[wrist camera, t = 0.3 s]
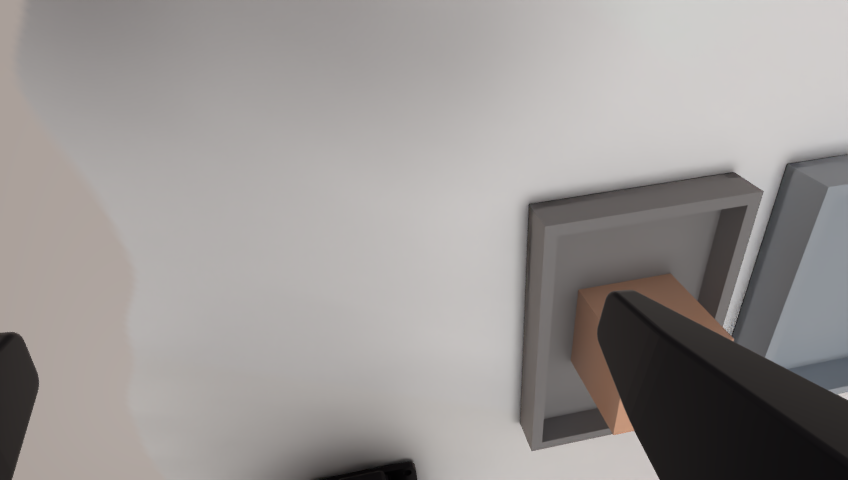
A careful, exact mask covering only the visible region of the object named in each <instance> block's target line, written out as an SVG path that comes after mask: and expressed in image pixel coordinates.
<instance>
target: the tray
mask: <svg viewBox="0 0 848 480" xmlns="http://www.w3.org/2000/svg"><path fill="white" fill-rule="evenodd" d="M732 337H733V338H734V342H736V343H738V344H739V345H741V346H743V347H745V348H747V349H749V350H751V351H753V352H755V353H757V354H759V355H761V356H763V357H765V358H767V359H769V360H771V361H773V362H774V363H776V364H778V365H780V366H782V367H784V368H786V369H788V370H790V371H792V372H794V373H796V374H798V375H800V376H802V377H804V378H806V379H808V380H809V381H811V382H813V383H815V384H817V385H819V386H821V387H823V388H825V389H827V390H829V391H831V392H833V393H835V394H840V393H845V392H848V155H842V156H836V157H830V158H823V159H817V160H810V161H804V162H798V163H791V164H787V167H786V170H785V173H784V176H783V179H782V183H781V186H780V189H779V192H778V195H777V198H776V201H775V204H774V208H773V211H772V214H771V217H770V220H769V223H768V226H767V229H766V233H765V236H764V239H763V242H762V245H761V248H760V251H759V254H758V258H757V261H756V264H755V267H754V270H753V273H752V276H751V279H750V282H749V286H748V289H747V292H746V295H745V298H744V301H743V304H742V307H741V311H740V314H739V317H738V320H737V323H736V326H735V329H734V332H733V336H732Z"/></svg>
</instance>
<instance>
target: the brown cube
mask: <svg viewBox="0 0 848 480" xmlns="http://www.w3.org/2000/svg"><path fill="white" fill-rule="evenodd" d="M620 290H634V291H637V292H639V293H640V294H642V295H644V296H646V297H648V298H650V299H652V300H654V301H656V302H658V303H660V304H662V305H664V306H666V307H668V308H670V309H672V310H673V311H675V312H677V313H679V314H681V315H683V316H685V317H687V318H689V319H691V320H693V321H695V322H697V323H699V324H701V325H703V326H705V327H706V328H708V329H710V330H712V331H714V332H716V333H718V334H720V335H722V336H724V337H726V338H728V339H730V340H732V341H734V338H733V337H732V336H731V335H730V334H729V333H728V332H727V331H726V330H725V329H724V328H723V327H722V326H721V325H720V324H719V323H718V322H717V321H716V320H715V319H714V318H713V317H712V316H711V315H710V314H709V313H708V312H707V311H706V309H705V308H704V307H703V306H702V305H701V304H700V303H699V302H698V301H697V300H696V299H695V298H694V297H693V296H692V295H691V294H690V293H689V292H688V291H687V290H686V289H685V288H684V287H683V286H682V285H681V284H680V283H679V282H678V280H677V279H676V278H675V277H674V276H673V275H672V274H671V273H670V274H664V275H659V276H653V277H647V278H642V279H636V280H630V281H625V282H619V283H613V284H608V285H602V286H596V287H591V288H585V289H579V290H578V298H577V307H576V317H575V326H574V335H573V345H572V354H571V362H572V364H573V366H574V367H575V369H576V371H577V373H578V374H579V376H580V378H581V380H582V381H583V383H584V385H585V387H586V388H587V390H588V392H589V394H590V395H591V397H592V399H593V401H594V402H595V404H596V406H597V408H598V409H599V411H600V413H601V415H602V416H603V418H604V420H605V422H606V423H607V425H608V427H609V429H610V430H611V432H612V434H613V435H616V434H621V433H626V432H631V431H634V429H633V427H632V425H631V423H630V421H629V418H628V416H627V414H626V411H625V409H624V407H623V404H622V402H621V399H620V396H619V394H618V391H617V389H616V386H615V384H614V381H613V379H612V376H611V373H610V371H609V368H608V366H607V363H606V361H605V358H604V355H603V353H602V350H601V348H600V345H599V342H598V338H597V328H598V324H599V320H600V317H601V313H602V310H603V306H604V303H605V299H606V297H607V295H608V294H609V293H610V292H612V291H620Z"/></svg>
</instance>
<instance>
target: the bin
mask: <svg viewBox="0 0 848 480" xmlns="http://www.w3.org/2000/svg"><path fill="white" fill-rule="evenodd" d="M763 192H764V191H762V190H761V189H759V188H758V187H756V186H755V185H753V184H751V183H750V182H748V181H747V180H745V179H744V178H742V177H741V176H739V175H738V174H736V173H727V174H721V175H714V176H708V177H701V178H695V179H689V180H682V181H676V182H669V183H663V184H657V185H650V186H644V187H637V188H631V189H625V190H618V191H612V192H605V193H599V194H592V195H586V196H580V197H573V198H567V199H560V200H554V201H548V202H541V203H535V204H529V218H528V243H527V267H526V292H525V316H524V341H523V366H522V390H521V415H520V424H521V426H522V429H523V431H524V434H525V436H526V439H527V441H528V444H529V446H530V448H531V451H535V450H539V449H544V448H549V447H554V446H558V445H563V444H568V443H572V442H577V441H582V440H587V439H591V438H596V437H601V436H606V435H610V434H612V432H611V430H610V429H609V427H608V425H607V423H606V422H605V420H604V418H603V416H602V415H601V413H600V411H599V409H598V408H597V406H596V404H595V402H594V401H593V399H592V397H591V395H590V394H589V392H588V390H587V388H586V387H585V385H584V383H583V381H582V380H581V378H580V376H579V374H578V373H577V371H576V369H575V367H574V366H573V364H572V362H571V354H572V345H573V335H574V326H575V317H576V307H577V298H578V290H579V289H585V288H591V287H596V286H602V285H608V284H613V283H619V282H625V281H630V280H636V279H642V278H647V277H653V276H659V275H664V274H670V273H671V274H672V275H673V276H674V277H675V278H676V279H677V280H678V282H679V283H680V284H681V285H682V286H683V287H684V288H685V289H686V290H687V291H688V292H689V293H690V294H691V295H692V296H693V297H694V298H695V299H696V300H697V301H698V302H699V303H700V304H701V305H702V306H703V307H704V308H705V309H706V311H707V312H708V313H709V314H710V315H711V316H712V317H713V318H714V319H715V320H716V321H717V322H718V323H719V324H720V325H721V326H722V327H723V324H724V320H725V317H726V314H727V310H728V307H729V304H730V300H731V297H732V294H733V291H734V287H735V284H736V281H737V277H738V274H739V271H740V267H741V264H742V261H743V258H744V254H745V251H746V248H747V244H748V241H749V238H750V235H751V231H752V228H753V225H754V221H755V218H756V215H757V211H758V208H759V205H760V202H761V198H762V195H763Z"/></svg>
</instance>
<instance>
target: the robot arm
mask: <svg viewBox="0 0 848 480" xmlns="http://www.w3.org/2000/svg"><path fill="white" fill-rule="evenodd" d="M597 338H598V342H599V345H600V348H601V350H602V353H603V355H604V358H605V361H606V363H607V366H608V368H609V371H610V373H611V376H612V379H613V381H614V384H615V386H616V389H617V391H618V394H619V396H620V399H621V402H622V404H623V407H624V409H625V411H626V414H627V416H628V418H629V421H630V423H631V425H632V427H633V429H634V431H635V433H636V435H637V437H638V439H639V441H640V443H641V444H642V446H643V448H644V450H645V452H646V454H647V456H648V458H649V460H650V462H651V464H652V466H653V468H654V470H655V472H656V473H657V475H658V477H659V479H660V480H848V400H846V399H844V398H843V397H841V396H839V395H837V394H835V393H833V392H831V391H829V390H827V389H825V388H823V387H821V386H819V385H817V384H815V383H813V382H811V381H809V380H808V379H806V378H804V377H802V376H800V375H798V374H796V373H794V372H792V371H790V370H788V369H786V368H784V367H782V366H780V365H778V364H776V363H774V362H773V361H771V360H769V359H767V358H765V357H763V356H761V355H759V354H757V353H755V352H753V351H751V350H749V349H747V348H745V347H743V346H741V345H739V344H738V343H736V342H734V341H732V340H730V339H728V338H726V337H724V336H722V335H720V334H718V333H716V332H714V331H712V330H710V329H708V328H706V327H705V326H703V325H701V324H699V323H697V322H695V321H693V320H691V319H689V318H687V317H685V316H683V315H681V314H679V313H677V312H675V311H673V310H672V309H670V308H668V307H666V306H664V305H662V304H660V303H658V302H656V301H654V300H652V299H650V298H648V297H646V296H644V295H642V294H640V293H639V292H637V291H634V290H620V291H612V292H610V293H609V294H608V295H607V297H606V299H605V303H604V306H603V310H602V313H601V317H600V320H599V324H598V328H597ZM38 387H39V378H38V374H37V371H36V368H35V366H34V363H33V361H32V359H31V356H30V354H29V351H28V349H27V347H26V344H25V342H24V340H23V338H22V337H21V336H20V335H19V334H17V333H15V332H5V333H0V480H12V477H13V474H14V471H15V467H16V464H17V461H18V457H19V454H20V450H21V447H22V444H23V440H24V437H25V433H26V430H27V426H28V423H29V420H30V416H31V413H32V410H33V406H34V403H35V399H36V396H37V393H38ZM321 480H417V475H416V468H415V464H414V463H413V462H403V463H398V464H393V465H389V466H384V467H379V468H374V469H369V470H365V471H360V472H355V473H350V474H345V475H340V476H336V477H331V478H326V479H321Z"/></svg>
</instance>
